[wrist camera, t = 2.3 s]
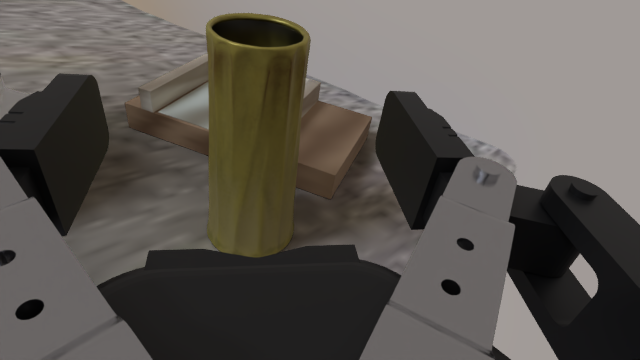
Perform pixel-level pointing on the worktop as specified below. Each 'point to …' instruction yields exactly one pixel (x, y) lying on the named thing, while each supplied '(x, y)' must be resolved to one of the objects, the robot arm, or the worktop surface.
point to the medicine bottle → (9, 98)
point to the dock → (193, 124)
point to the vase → (254, 130)
